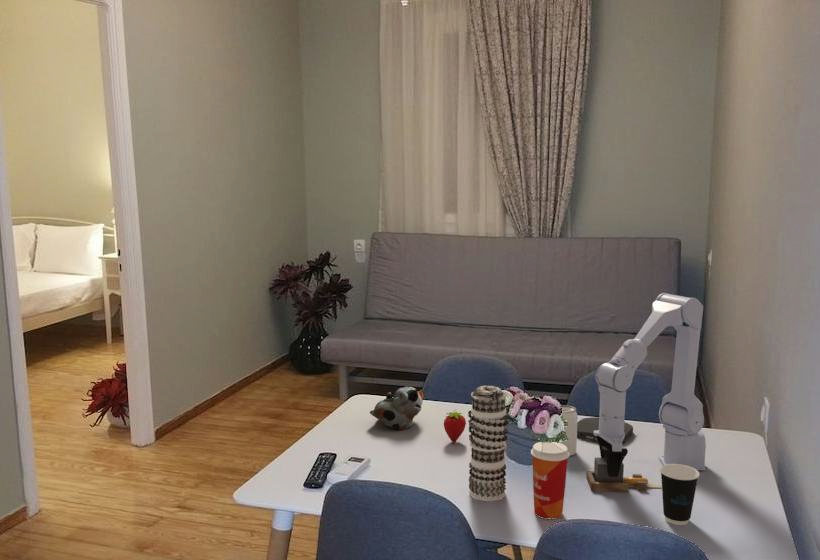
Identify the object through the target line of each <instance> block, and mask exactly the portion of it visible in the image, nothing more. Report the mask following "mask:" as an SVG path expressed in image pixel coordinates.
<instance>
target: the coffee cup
mask: <svg viewBox="0 0 820 560" xmlns="http://www.w3.org/2000/svg"><path fill="white" fill-rule="evenodd" d="M530 454H531V456H532V459H531V460H532V484H533V485H532V487H533V488H532V489H533V491H532V492H533V510H534V514H535V513H536V514H537V515H538V516H540V517H543V518H542V519H544V518H551V519H550V520H553V519H552V518H557V519H559V517H560V518H561V517H562V516H563V512H564V511H563V510H564V502H565V501H564V500H565V493H566V492H565V491H566V482H567V481H566V480H567V471H568V470H567V469H568V458H569V457H571V456H570V454H569V452H568V449H567V447H566V446H565V445H563V444H561V443H557V442H552V441H551V442H550V441H543V442H542V441H539V442H536V443H535V444H533V446H532V449H531V450H530ZM536 514H535V515H536ZM537 515H536V516H537ZM561 515H562V516H561ZM538 516H537V517H538ZM540 517H539V518H540Z"/></svg>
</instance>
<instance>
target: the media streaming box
mask: <svg viewBox="0 0 820 560" xmlns="http://www.w3.org/2000/svg"><path fill="white" fill-rule="evenodd" d="M594 430H599V417H598V416H597V417H593V416H592V417H585V418H581V419H580V420H579V421H578V420H577V439H580V438H581V439H580V440H585V441H590V442H591V441H592V442H596V443H598V440H597V438H596V436H595V435H594ZM624 433H625V437H624V439H623V441H622V445H623V444H625V443H626V442H627V441H628V440H629V439H630V438H631V437H632V436H633V435H634V426H633V425H632V424H630V423H627V422H625V421H624ZM632 434H633V435H632Z"/></svg>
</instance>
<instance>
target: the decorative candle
mask: <svg viewBox="0 0 820 560" xmlns="http://www.w3.org/2000/svg"><path fill="white" fill-rule="evenodd" d="M470 397H472V399H471V403H472V405H471V407H470V410H469V411H467V414H468V415H467V416H468V417H469V419H468V432H469V433H470V434H469V435H468V438H469V439H468V440H469V446H470V447H471V448H470V449H471V450H470V451H471V455H470V462H469V463H468V468H469V470H468V474H469V477H468V482H469V483H468V494H469V496H470V497H471V498H473V499H475V500H477V501H483V502H495V500H496V501H500V500H502V499H504V498H505V497H506V489H507V488H506V484H507V481H506V480H507V479H506V475H507V473H506V469H507V465H506V457H505V449H506V448H507V442H506V441H507V440H508V435H507V434H508V433H509V430H508V428H506V427H507V426H508V425H509V420H508V419H509V418H510V415H509V414H508V413H507V408H506V398H507V394H506V393H504V392H503V390H502V389H501V388H500V387H499V386H495V385H480V386H478V387H476V389H474V391H472V392H471V393H470ZM503 497H504V498H503ZM501 498H502V499H501ZM499 499H500V500H499Z"/></svg>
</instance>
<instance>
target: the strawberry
mask: <svg viewBox="0 0 820 560" xmlns="http://www.w3.org/2000/svg"><path fill="white" fill-rule="evenodd" d="M462 414H463V412H458V411H456V410H455V411H453V412H450V411H449V412H447V413H446V414H445V415H447V416H445V418H444V420H443V421H444V422H443V427H444V428H443V429H444V431H445V433H446V435H447V436H448V438H449V439H450V441H451V442H452V443H456V442H457V440H459V438H460V437H461V435H462V434H463V433H464V431H465V429H466V425H467V423H466V422H467V421H466V418H465V416H463V415H462Z"/></svg>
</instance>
